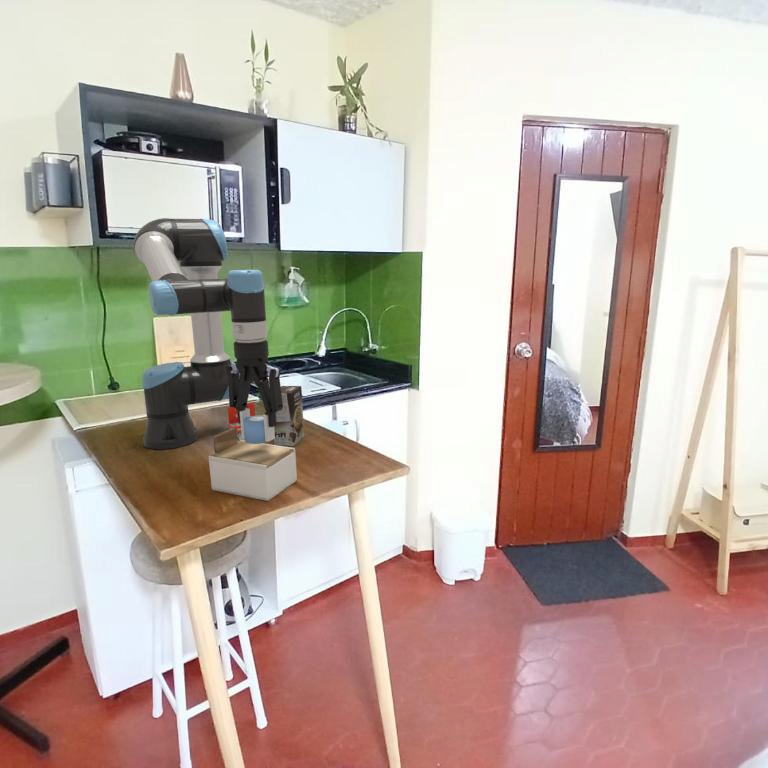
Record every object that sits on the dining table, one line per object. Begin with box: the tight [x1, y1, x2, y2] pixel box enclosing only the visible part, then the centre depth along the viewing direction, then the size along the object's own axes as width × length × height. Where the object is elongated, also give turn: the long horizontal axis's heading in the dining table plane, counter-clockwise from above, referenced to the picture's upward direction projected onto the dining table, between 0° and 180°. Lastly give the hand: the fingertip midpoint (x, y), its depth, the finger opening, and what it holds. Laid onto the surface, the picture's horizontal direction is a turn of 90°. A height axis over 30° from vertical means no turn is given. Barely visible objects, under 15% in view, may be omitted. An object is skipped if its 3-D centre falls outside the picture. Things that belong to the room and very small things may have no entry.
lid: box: [209, 428, 292, 467], centre depth 123 cm, size 16×10×5 cm, turn 67°
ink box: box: [227, 402, 256, 441], centre depth 142 cm, size 4×8×15 cm, turn 125°
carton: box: [208, 440, 298, 502], centre depth 124 cm, size 16×12×8 cm
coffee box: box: [273, 385, 305, 447], centre depth 154 cm, size 9×6×16 cm
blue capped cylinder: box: [243, 414, 266, 444], centre depth 120 cm, size 6×6×5 cm
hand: (258, 438), depth 121 cm, fingers closed on blue capped cylinder, 6 cm apart
